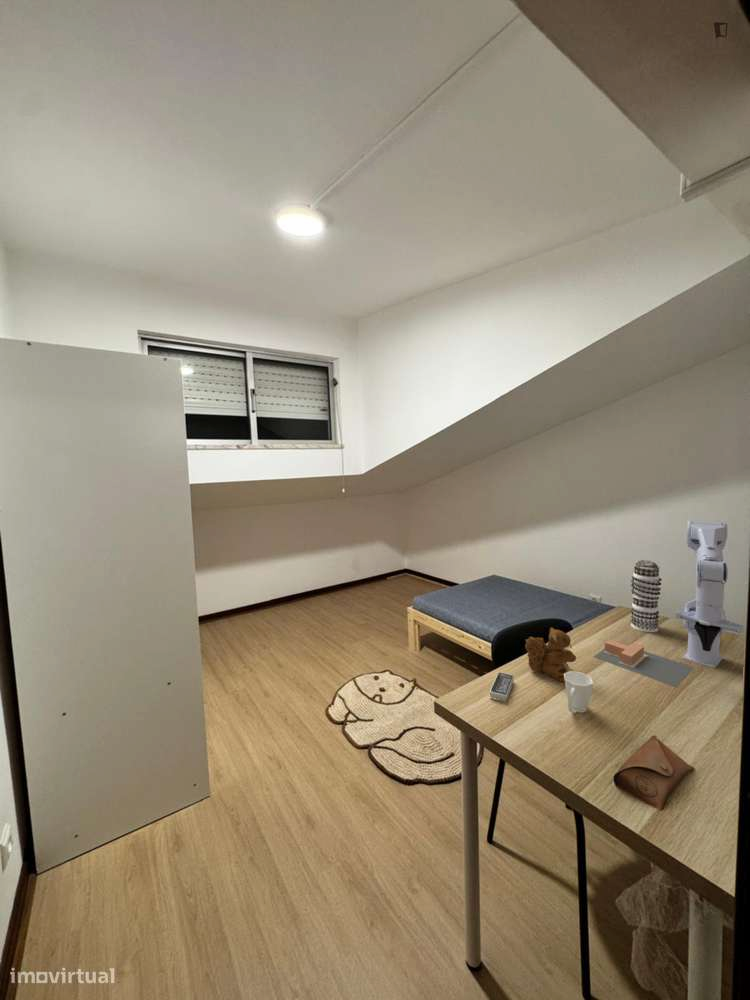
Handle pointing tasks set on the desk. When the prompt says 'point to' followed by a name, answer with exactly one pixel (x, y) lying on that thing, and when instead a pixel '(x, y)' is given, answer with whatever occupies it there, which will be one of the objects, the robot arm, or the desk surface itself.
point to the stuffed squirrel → (550, 654)
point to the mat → (652, 667)
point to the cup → (578, 691)
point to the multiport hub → (501, 686)
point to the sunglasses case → (652, 773)
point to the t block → (625, 651)
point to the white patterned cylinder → (645, 596)
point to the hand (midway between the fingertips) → (706, 649)
